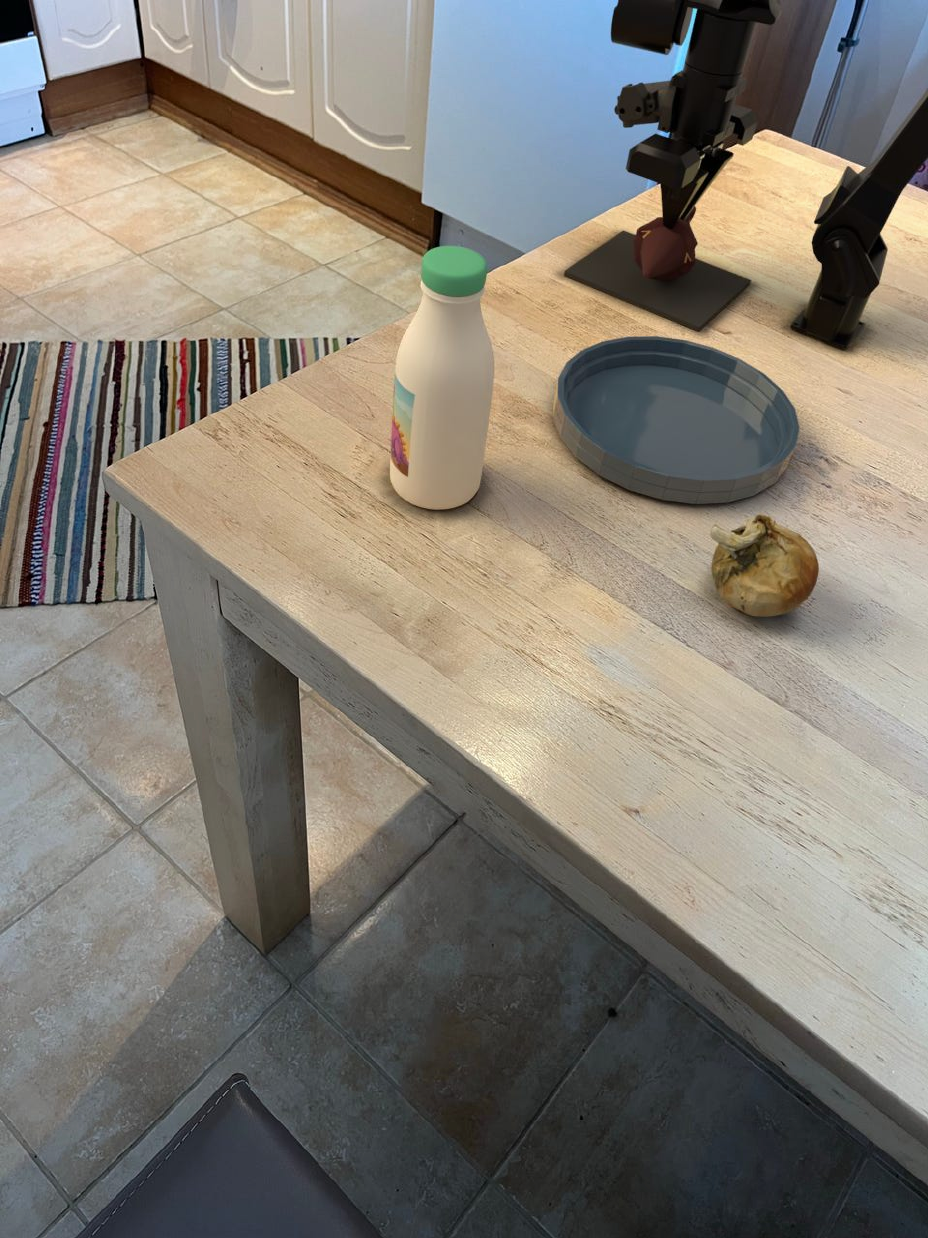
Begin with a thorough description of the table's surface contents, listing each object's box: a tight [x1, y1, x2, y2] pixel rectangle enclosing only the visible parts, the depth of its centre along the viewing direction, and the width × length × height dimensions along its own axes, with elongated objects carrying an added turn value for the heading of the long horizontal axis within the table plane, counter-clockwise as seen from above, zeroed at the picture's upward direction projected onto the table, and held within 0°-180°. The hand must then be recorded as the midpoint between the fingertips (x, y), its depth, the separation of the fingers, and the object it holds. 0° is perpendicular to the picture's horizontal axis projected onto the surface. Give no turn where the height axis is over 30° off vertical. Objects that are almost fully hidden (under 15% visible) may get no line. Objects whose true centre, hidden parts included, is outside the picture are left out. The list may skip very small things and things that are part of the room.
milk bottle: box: [389, 245, 495, 511], centre depth 73 cm, size 8×8×20 cm
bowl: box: [552, 335, 801, 505], centre depth 88 cm, size 22×22×3 cm
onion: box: [710, 513, 820, 617], centre depth 72 cm, size 8×8×8 cm
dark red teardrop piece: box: [633, 205, 699, 282], centre depth 105 cm, size 7×7×15 cm
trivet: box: [563, 230, 752, 332], centre depth 108 cm, size 14×17×1 cm
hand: (673, 222), depth 103 cm, fingers closed on dark red teardrop piece, 2 cm apart
